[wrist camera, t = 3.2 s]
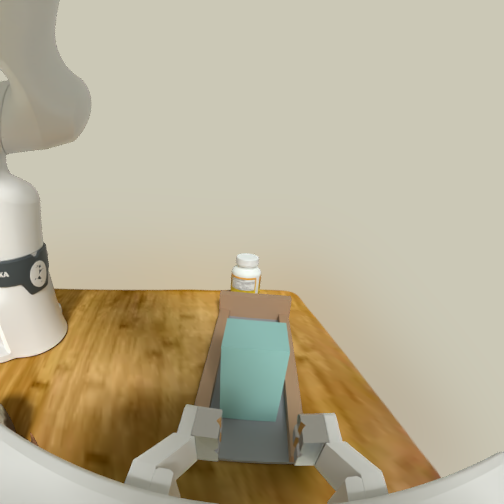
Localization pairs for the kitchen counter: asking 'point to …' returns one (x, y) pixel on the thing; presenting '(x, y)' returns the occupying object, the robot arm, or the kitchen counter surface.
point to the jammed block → (253, 369)
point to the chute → (281, 432)
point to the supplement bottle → (246, 274)
